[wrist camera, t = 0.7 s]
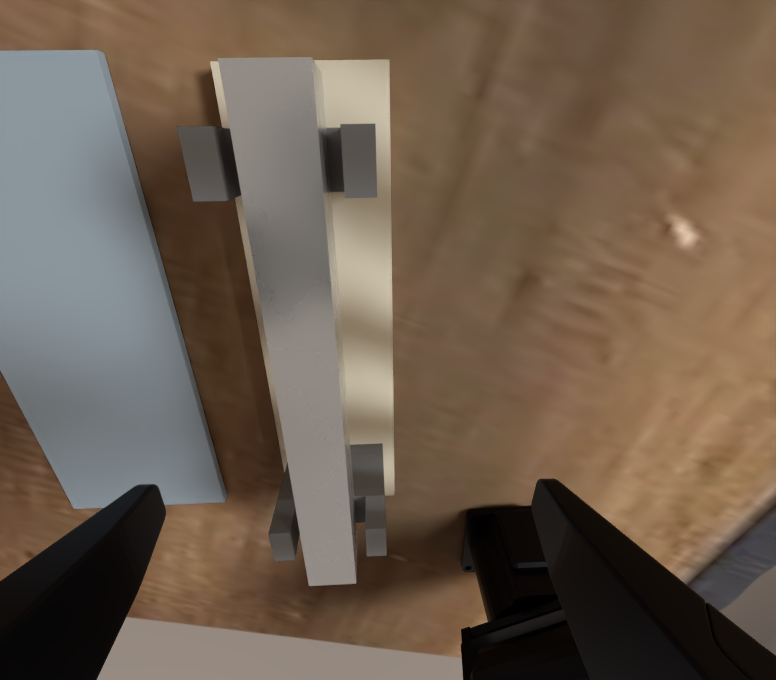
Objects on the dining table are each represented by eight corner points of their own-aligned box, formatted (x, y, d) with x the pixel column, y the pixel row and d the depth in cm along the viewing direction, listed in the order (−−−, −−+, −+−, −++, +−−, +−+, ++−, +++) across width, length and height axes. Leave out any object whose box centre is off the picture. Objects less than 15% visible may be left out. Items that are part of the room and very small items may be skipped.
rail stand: (393, 483, 27) (400, 585, 21) (292, 488, 27) (268, 592, 20) (388, 64, 16) (399, 12, 10) (219, 66, 16) (122, 13, 10)
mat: (227, 496, 27) (224, 502, 26) (79, 502, 27) (73, 508, 26) (103, 52, 16) (96, 50, 15) (-154, 55, 15) (-170, 52, 15)
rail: (357, 540, 22) (356, 583, 20) (314, 543, 22) (309, 586, 20) (322, 73, 12) (311, 57, 10) (244, 73, 12) (218, 58, 10)
